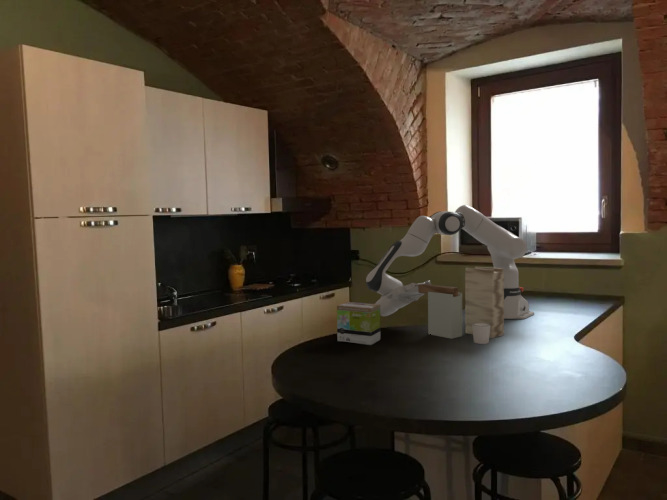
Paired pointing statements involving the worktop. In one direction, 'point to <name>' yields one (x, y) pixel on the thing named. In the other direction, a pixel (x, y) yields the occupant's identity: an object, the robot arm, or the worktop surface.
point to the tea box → (358, 323)
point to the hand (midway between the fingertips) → (422, 283)
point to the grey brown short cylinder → (481, 333)
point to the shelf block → (485, 299)
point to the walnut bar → (437, 289)
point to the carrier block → (445, 315)
